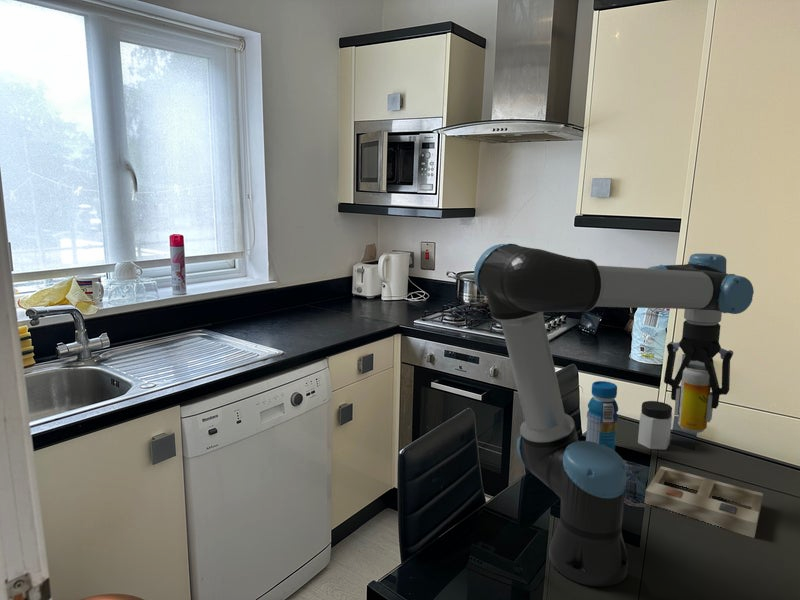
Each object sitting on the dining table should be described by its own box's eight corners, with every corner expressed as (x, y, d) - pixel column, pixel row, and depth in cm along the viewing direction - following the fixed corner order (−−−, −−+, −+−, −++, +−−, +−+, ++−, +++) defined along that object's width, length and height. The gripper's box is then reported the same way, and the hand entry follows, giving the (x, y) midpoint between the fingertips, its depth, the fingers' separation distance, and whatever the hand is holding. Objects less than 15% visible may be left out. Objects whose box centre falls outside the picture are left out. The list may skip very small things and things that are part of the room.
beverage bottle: (580, 451, 162) (584, 385, 158) (590, 441, 169) (594, 377, 165) (610, 459, 157) (615, 391, 153) (619, 449, 164) (624, 383, 160)
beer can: (709, 434, 130) (716, 372, 127) (681, 432, 131) (686, 370, 129) (702, 424, 136) (708, 364, 133) (674, 422, 137) (680, 363, 134)
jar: (664, 438, 171) (667, 401, 169) (674, 450, 163) (678, 411, 161) (633, 437, 172) (636, 400, 170) (642, 449, 164) (645, 410, 162)
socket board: (644, 504, 135) (645, 489, 134) (659, 478, 147) (660, 464, 146) (754, 538, 122) (756, 522, 121) (761, 506, 134) (763, 492, 133)
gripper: (752, 324, 126) (741, 421, 130) (661, 313, 138) (654, 403, 142) (747, 330, 120) (736, 432, 124) (653, 318, 132) (645, 412, 136)
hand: (692, 416), depth 133 cm, fingers closed on beer can, 6 cm apart
